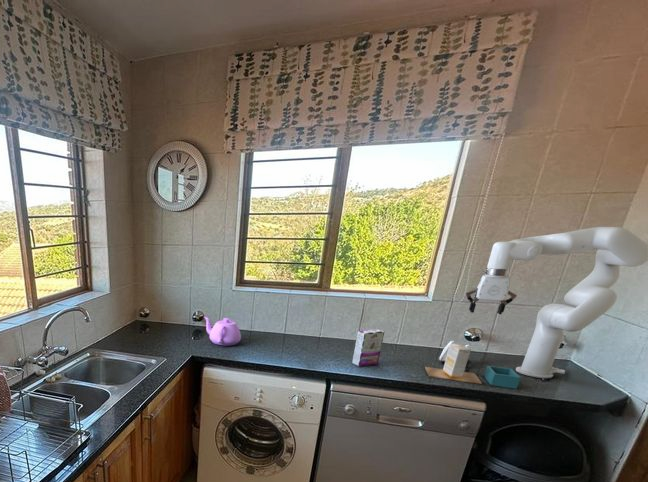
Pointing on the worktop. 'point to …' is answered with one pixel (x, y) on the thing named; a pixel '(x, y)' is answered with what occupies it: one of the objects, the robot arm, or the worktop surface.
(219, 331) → the teapot
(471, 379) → the cork mat
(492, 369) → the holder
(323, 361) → the worktop surface
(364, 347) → the candy bar box
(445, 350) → the shaker set
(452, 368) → the supplement box
